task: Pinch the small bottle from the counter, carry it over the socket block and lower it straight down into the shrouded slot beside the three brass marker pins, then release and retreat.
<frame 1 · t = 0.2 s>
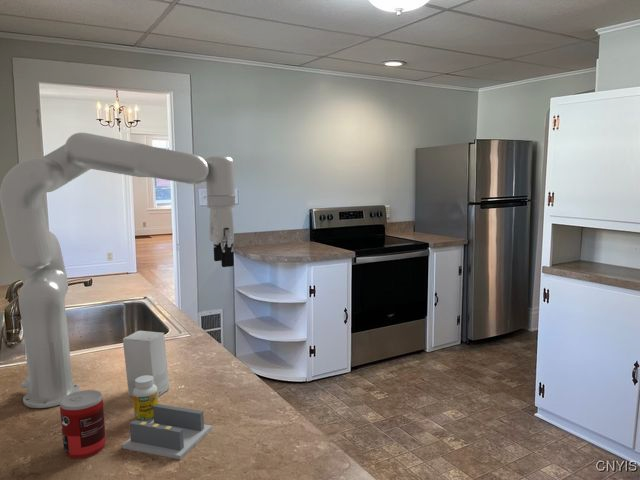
hand: (223, 263, 135), 31 cm above the countertop, tool pointing down, fingers open, 9 cm apart
supplement bottle: (147, 418, 112), on the countertop
socket block: (168, 438, 103), on the countertop
skincare box: (148, 393, 125), on the countertop
canned food: (85, 449, 100), on the countertop
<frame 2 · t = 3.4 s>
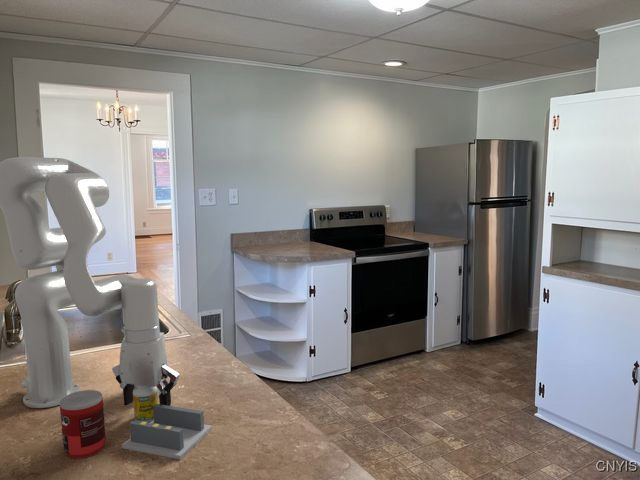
hand: (147, 405, 112), 3 cm above the countertop, tool pointing down, fingers open, 9 cm apart
nothing on the countertop moved.
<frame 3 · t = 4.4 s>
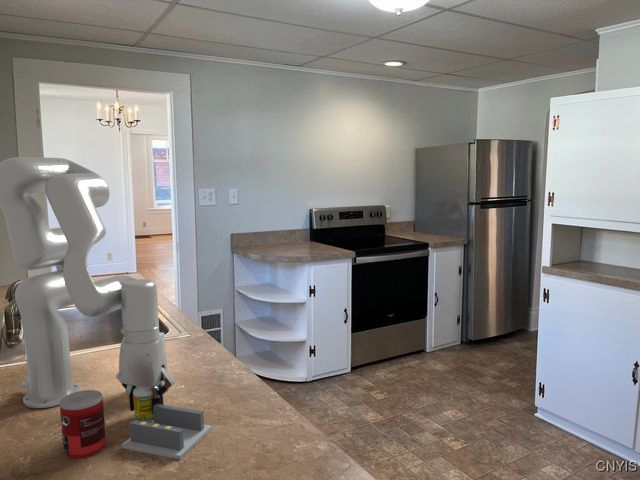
hand: (146, 409, 112), 2 cm above the countertop, tool pointing down, fingers closed on supplement bottle, 5 cm apart
supplement bottle: (147, 418, 112), on the countertop, touching gripper
everything else where it was.
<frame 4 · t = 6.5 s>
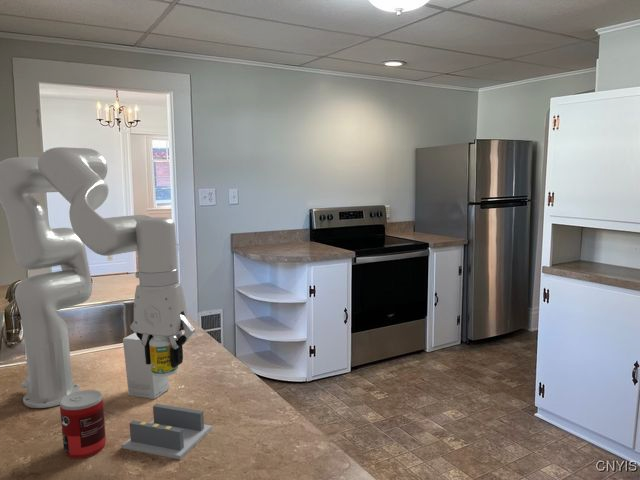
hand: (164, 362, 101), 17 cm above the countertop, tool pointing down, fingers closed on supplement bottle, 5 cm apart
supplement bottle: (164, 373, 101), point 15 cm above the countertop, touching gripper
everything else where it was.
when the fingers open (4 cm above the countertop, at t = 8.7 s): supplement bottle stays where it is, resting on socket block.
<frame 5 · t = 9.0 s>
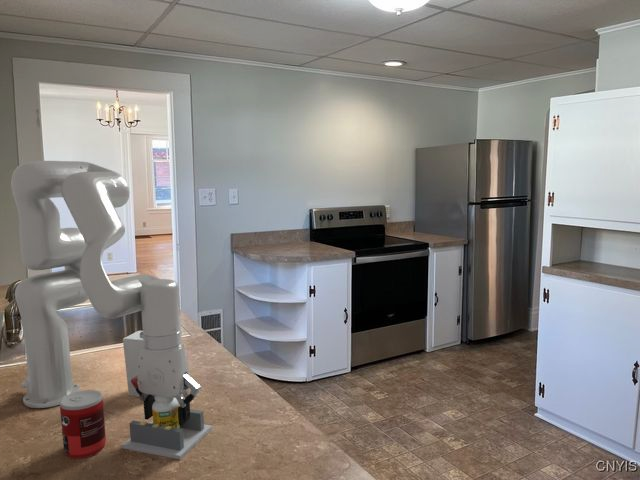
hand: (167, 418, 103), 4 cm above the countertop, tool pointing down, fingers open, 7 cm apart
supplement bottle: (167, 435, 104), point 1 cm above the countertop, touching socket block
everything else where it was.
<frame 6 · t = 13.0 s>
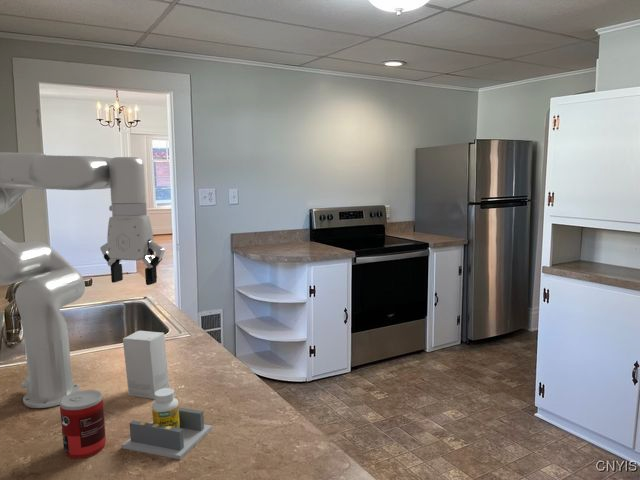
hand: (134, 282, 115), 30 cm above the countertop, tool pointing down, fingers open, 9 cm apart
nothing on the countertop moved.
at the end: supplement bottle inside the target area on the socket block (0.3 cm from its centre), point 0.6 cm above the socket block's base; supplement bottle tilted 0°; the gripper is holding nothing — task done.
